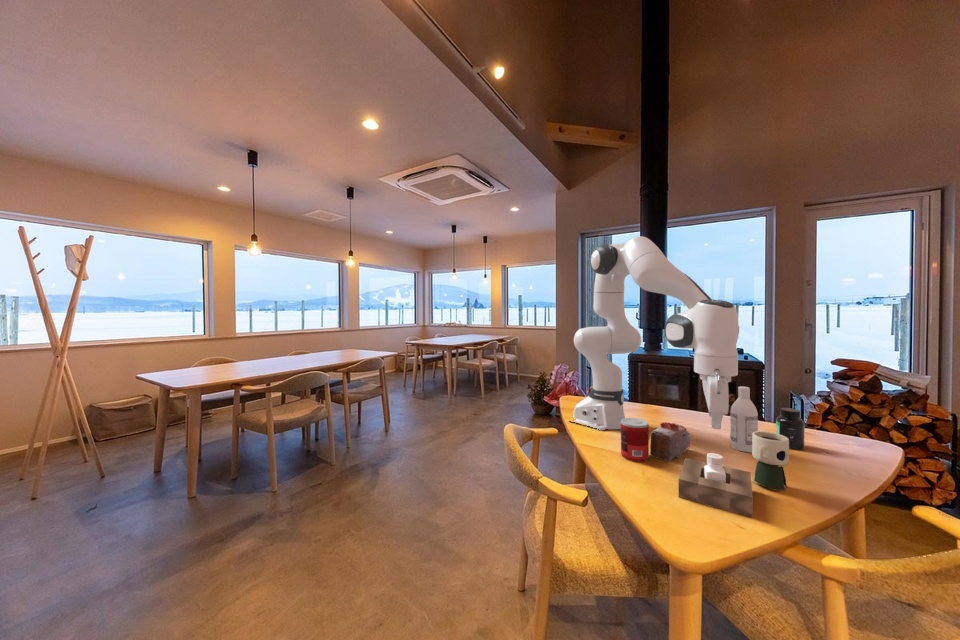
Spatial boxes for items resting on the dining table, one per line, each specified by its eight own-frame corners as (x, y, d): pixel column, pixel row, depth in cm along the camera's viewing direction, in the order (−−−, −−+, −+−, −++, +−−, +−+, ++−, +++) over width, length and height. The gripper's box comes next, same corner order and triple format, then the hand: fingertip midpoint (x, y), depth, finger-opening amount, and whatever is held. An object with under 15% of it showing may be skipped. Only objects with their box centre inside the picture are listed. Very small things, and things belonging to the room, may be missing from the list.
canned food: (654, 458, 103) (654, 422, 103) (637, 464, 99) (637, 427, 99) (632, 449, 110) (631, 416, 110) (615, 455, 106) (615, 420, 106)
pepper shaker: (706, 495, 82) (706, 457, 82) (704, 488, 86) (704, 451, 86) (726, 499, 80) (726, 460, 80) (723, 491, 84) (723, 453, 84)
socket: (678, 497, 82) (678, 478, 82) (685, 474, 93) (685, 458, 93) (752, 517, 73) (752, 497, 73) (750, 489, 85) (750, 472, 84)
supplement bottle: (774, 445, 111) (774, 409, 110) (777, 440, 115) (777, 405, 115) (803, 452, 106) (803, 414, 105) (805, 446, 110) (805, 409, 110)
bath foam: (760, 449, 109) (760, 387, 108) (754, 455, 104) (754, 390, 104) (733, 442, 114) (734, 383, 113) (727, 448, 109) (727, 387, 109)
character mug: (778, 499, 80) (778, 445, 80) (743, 485, 87) (743, 435, 86) (797, 486, 86) (797, 436, 85) (762, 475, 92) (763, 427, 92)
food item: (665, 444, 114) (665, 415, 114) (692, 451, 108) (691, 421, 108) (647, 456, 105) (647, 424, 105) (675, 464, 99) (675, 431, 99)
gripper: (737, 375, 72) (736, 439, 73) (726, 360, 89) (725, 412, 90) (702, 372, 75) (701, 433, 76) (698, 359, 93) (697, 408, 93)
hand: (714, 421), depth 83 cm, fingers open, 8 cm apart
